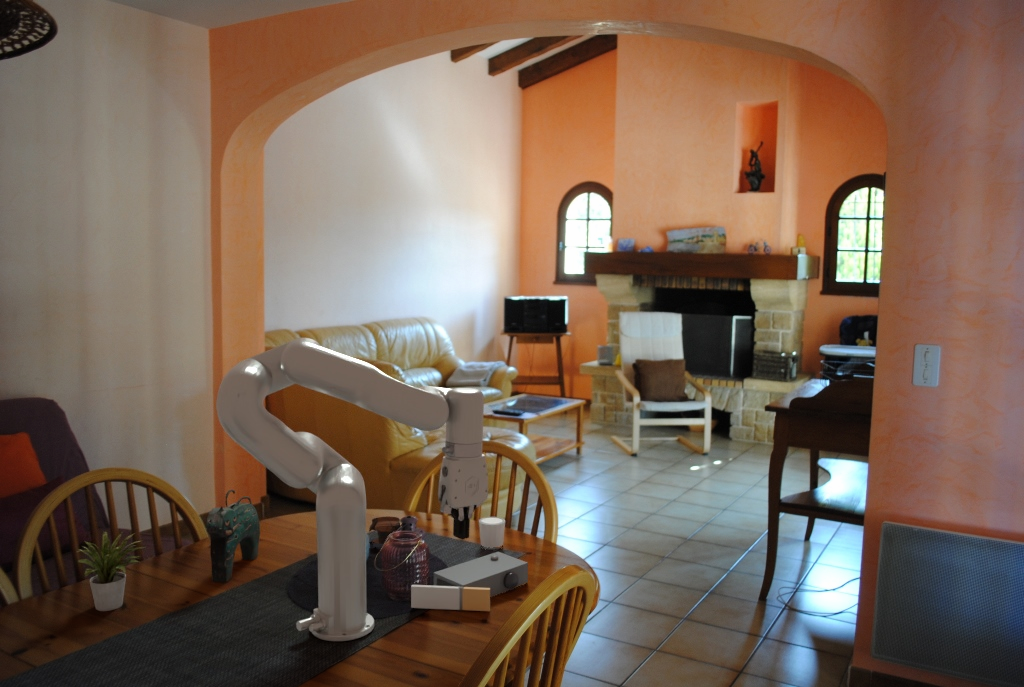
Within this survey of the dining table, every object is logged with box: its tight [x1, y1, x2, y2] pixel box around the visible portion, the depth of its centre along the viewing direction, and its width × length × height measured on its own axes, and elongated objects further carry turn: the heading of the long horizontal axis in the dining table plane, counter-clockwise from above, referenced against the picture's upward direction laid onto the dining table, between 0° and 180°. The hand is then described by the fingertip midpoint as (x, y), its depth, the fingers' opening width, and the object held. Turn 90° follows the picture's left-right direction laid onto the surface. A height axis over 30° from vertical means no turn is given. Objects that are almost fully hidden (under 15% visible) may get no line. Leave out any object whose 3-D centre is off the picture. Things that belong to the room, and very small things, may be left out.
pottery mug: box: [368, 516, 401, 544], centre depth 223 cm, size 12×10×8 cm
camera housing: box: [433, 551, 529, 598], centre depth 192 cm, size 20×11×6 cm, turn 134°
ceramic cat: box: [206, 489, 261, 584], centre depth 203 cm, size 20×6×20 cm, turn 171°
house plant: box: [77, 530, 146, 612], centre depth 180 cm, size 14×14×16 cm
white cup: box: [478, 516, 506, 548], centre depth 221 cm, size 7×7×7 cm
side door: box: [410, 584, 491, 612], centre depth 181 cm, size 1×17×5 cm, turn 85°
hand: (461, 536), depth 175 cm, fingers closed
